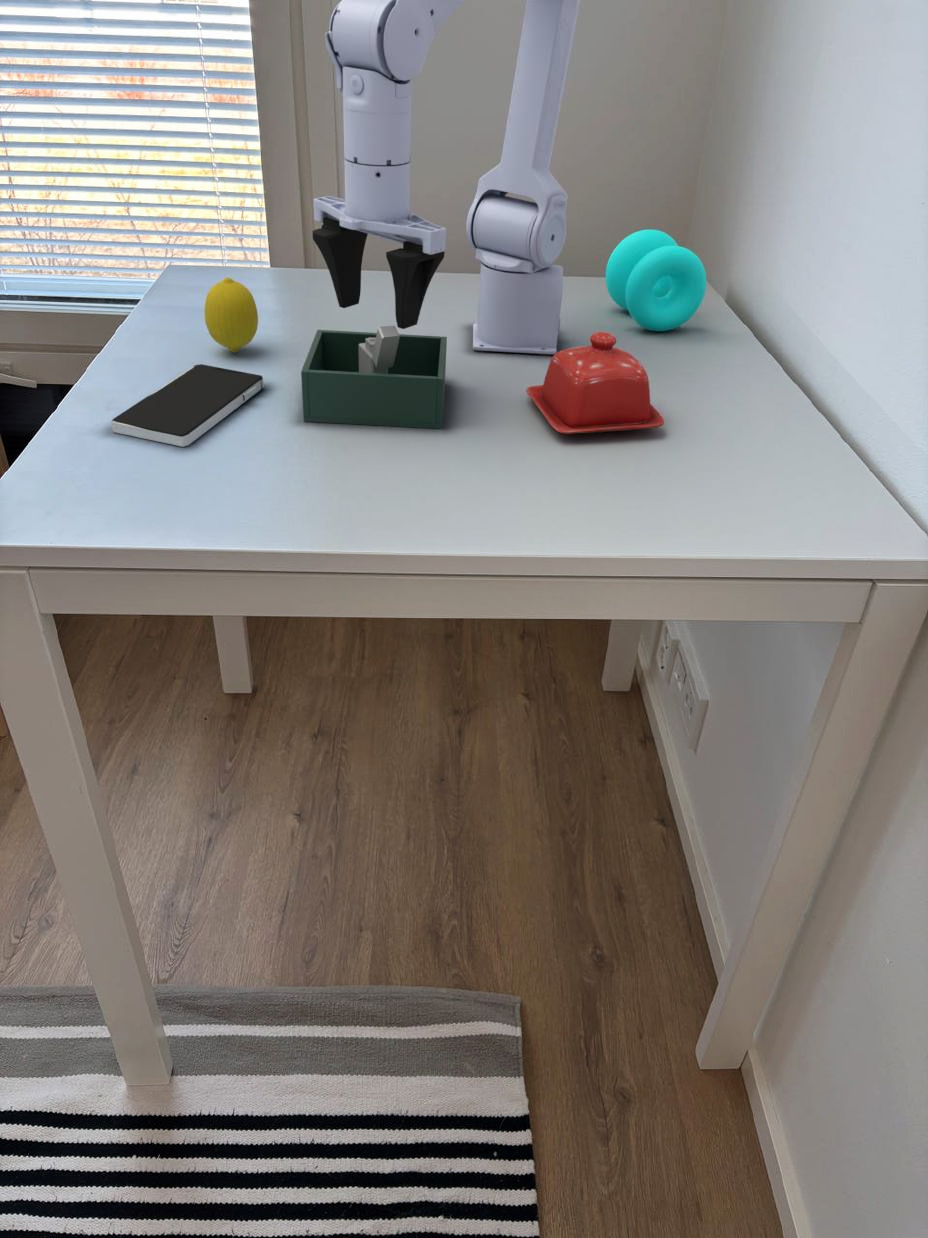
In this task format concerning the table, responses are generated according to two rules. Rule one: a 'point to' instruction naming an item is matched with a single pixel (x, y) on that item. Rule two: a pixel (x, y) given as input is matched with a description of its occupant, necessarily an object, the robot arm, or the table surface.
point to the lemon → (231, 314)
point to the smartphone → (188, 405)
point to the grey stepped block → (379, 351)
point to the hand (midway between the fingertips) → (377, 315)
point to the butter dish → (595, 390)
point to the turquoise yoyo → (655, 280)
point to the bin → (374, 382)
